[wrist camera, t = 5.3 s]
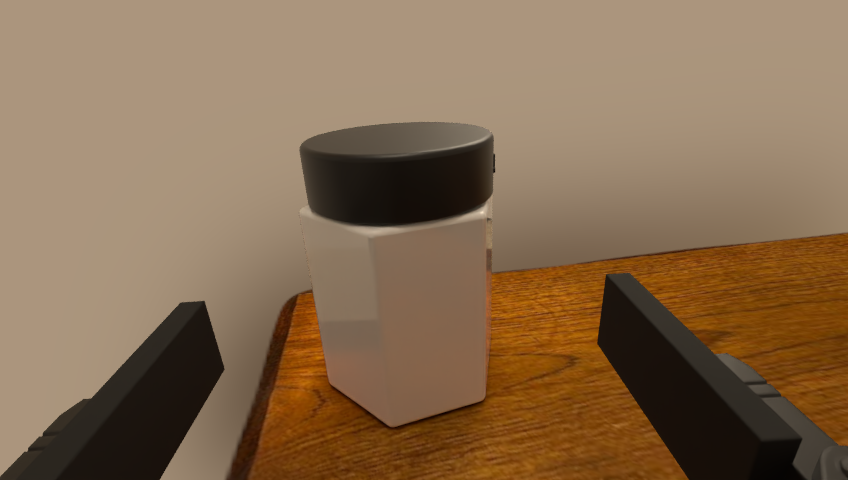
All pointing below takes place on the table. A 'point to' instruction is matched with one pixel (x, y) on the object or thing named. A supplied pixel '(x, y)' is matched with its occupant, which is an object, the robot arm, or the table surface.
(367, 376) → the jar
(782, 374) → the table surface
